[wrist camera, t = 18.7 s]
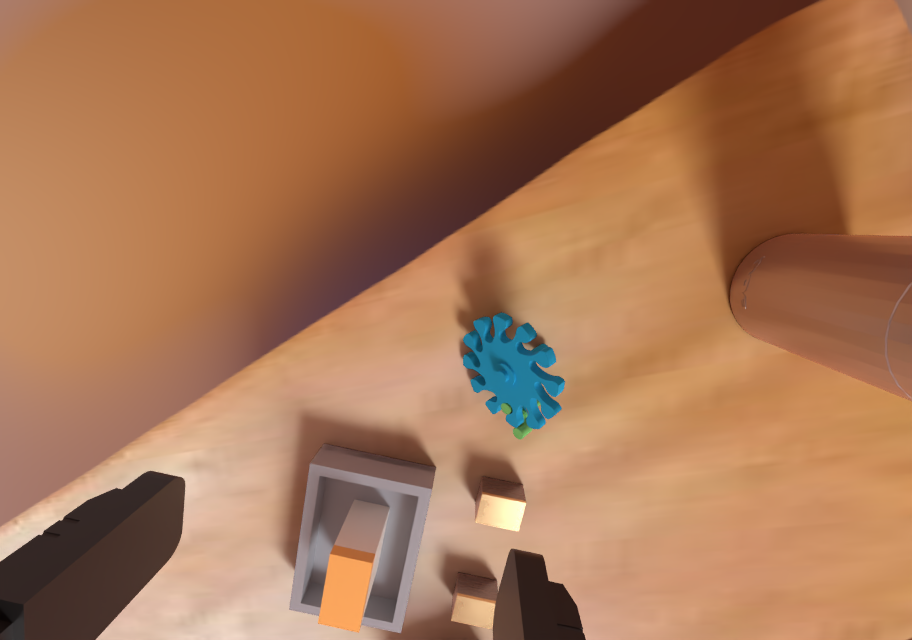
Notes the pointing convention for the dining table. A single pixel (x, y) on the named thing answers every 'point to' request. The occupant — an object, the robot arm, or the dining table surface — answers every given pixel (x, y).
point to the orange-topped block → (353, 566)
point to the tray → (326, 509)
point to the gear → (513, 373)
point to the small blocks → (498, 509)
